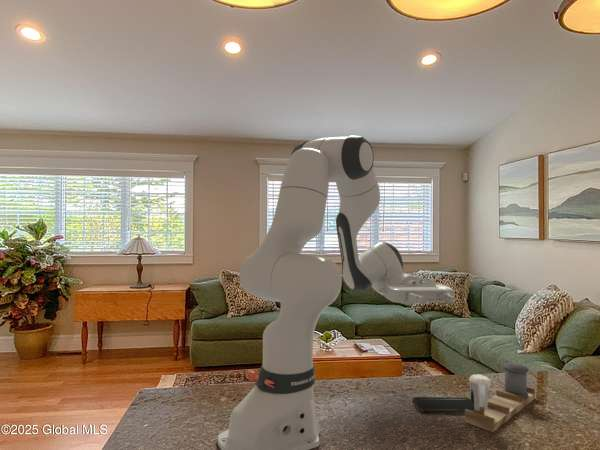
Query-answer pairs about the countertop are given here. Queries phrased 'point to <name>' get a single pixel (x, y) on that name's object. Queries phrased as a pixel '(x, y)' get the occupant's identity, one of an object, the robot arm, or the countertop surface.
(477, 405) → the milkshake
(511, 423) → the countertop surface
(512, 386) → the spool
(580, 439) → the countertop surface
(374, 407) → the countertop surface
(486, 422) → the organizer
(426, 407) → the phone
